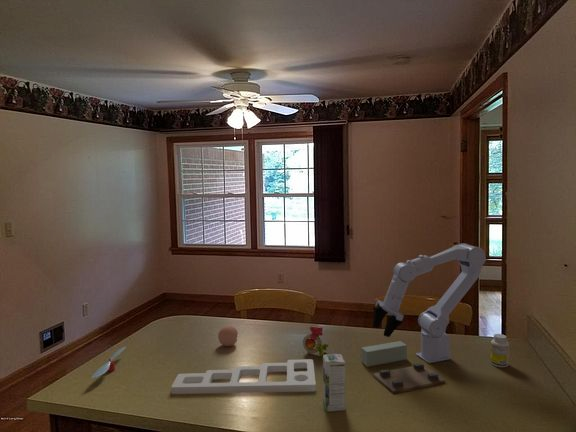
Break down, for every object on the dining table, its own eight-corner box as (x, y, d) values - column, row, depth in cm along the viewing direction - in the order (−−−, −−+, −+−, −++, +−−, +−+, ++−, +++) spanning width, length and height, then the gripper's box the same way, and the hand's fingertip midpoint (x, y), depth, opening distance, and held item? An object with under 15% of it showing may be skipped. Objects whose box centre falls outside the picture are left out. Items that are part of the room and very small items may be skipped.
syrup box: (322, 401, 124) (321, 354, 123) (342, 400, 125) (341, 353, 123) (325, 412, 118) (325, 362, 117) (346, 410, 119) (345, 361, 118)
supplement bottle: (496, 359, 149) (496, 331, 148) (511, 365, 144) (512, 336, 143) (487, 363, 146) (487, 335, 145) (502, 369, 141) (503, 340, 140)
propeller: (131, 355, 160) (130, 344, 160) (98, 388, 136) (97, 375, 135) (120, 355, 161) (120, 344, 160) (85, 388, 136) (84, 375, 135)
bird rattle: (307, 362, 155) (329, 355, 152) (295, 335, 155) (316, 327, 153) (310, 355, 161) (332, 348, 158) (299, 329, 161) (320, 321, 159)
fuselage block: (400, 355, 155) (400, 341, 154) (406, 359, 151) (406, 345, 150) (361, 362, 150) (361, 347, 149) (367, 367, 146) (366, 351, 145)
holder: (171, 395, 131) (170, 387, 131) (185, 369, 149) (185, 361, 148) (315, 392, 130) (315, 384, 130) (313, 366, 148) (313, 359, 148)
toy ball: (242, 344, 168) (241, 325, 168) (229, 351, 162) (229, 331, 161) (227, 340, 173) (226, 321, 172) (214, 347, 166) (213, 327, 165)
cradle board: (422, 366, 145) (422, 360, 144) (445, 382, 133) (445, 375, 133) (373, 376, 139) (373, 369, 139) (393, 393, 128) (393, 386, 127)
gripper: (375, 286, 153) (361, 321, 154) (396, 299, 139) (382, 337, 140) (390, 291, 155) (377, 325, 156) (413, 305, 142) (399, 342, 142)
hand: (380, 331), depth 148 cm, fingers open, 7 cm apart
